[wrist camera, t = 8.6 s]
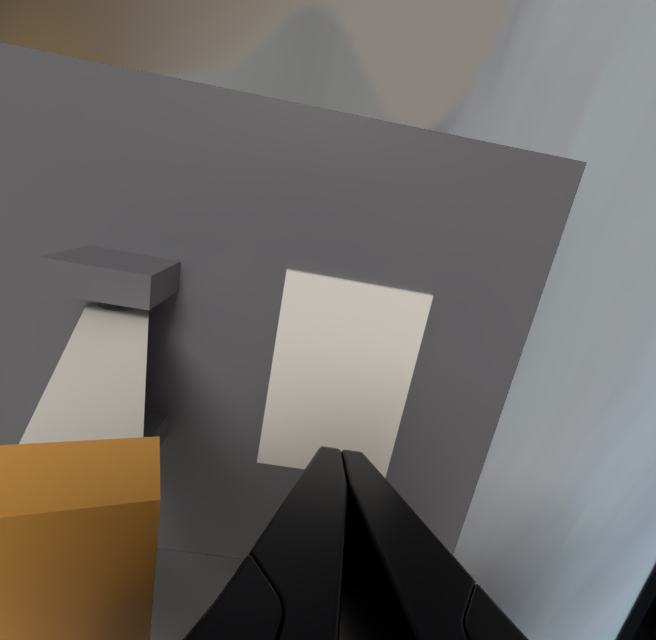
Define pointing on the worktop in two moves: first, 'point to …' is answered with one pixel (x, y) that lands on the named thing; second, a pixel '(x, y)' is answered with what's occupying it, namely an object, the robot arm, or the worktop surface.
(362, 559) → the robot arm
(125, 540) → the breaker lever
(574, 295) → the worktop surface
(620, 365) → the worktop surface
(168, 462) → the breaker block
